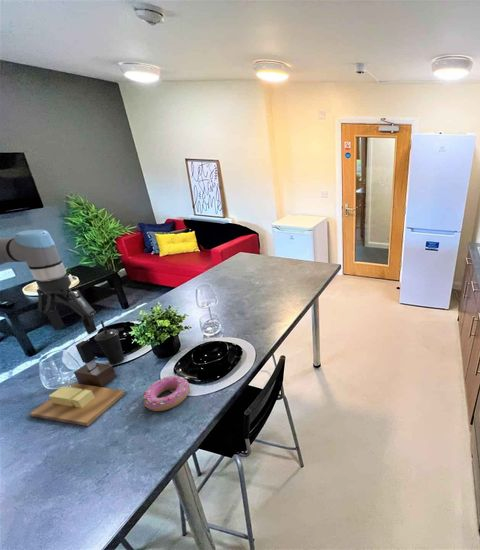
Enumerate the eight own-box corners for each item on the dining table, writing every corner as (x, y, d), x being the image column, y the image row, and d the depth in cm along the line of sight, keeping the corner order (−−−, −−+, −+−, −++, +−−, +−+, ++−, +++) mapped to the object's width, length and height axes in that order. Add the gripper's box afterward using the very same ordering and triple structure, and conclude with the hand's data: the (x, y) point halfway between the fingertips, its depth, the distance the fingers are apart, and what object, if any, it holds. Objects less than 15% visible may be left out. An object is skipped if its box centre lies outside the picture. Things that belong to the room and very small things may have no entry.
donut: (170, 379, 116) (167, 370, 114) (199, 388, 112) (196, 378, 110) (135, 407, 103) (130, 397, 101) (166, 418, 100) (163, 408, 98)
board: (31, 416, 98) (29, 413, 98) (74, 385, 111) (72, 382, 111) (87, 426, 96) (86, 422, 95) (125, 393, 109) (124, 390, 108)
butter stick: (52, 403, 102) (48, 395, 100) (66, 393, 106) (62, 385, 104) (72, 406, 101) (68, 399, 99) (85, 396, 105) (82, 389, 104)
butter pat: (75, 407, 101) (71, 399, 99) (88, 396, 105) (85, 389, 103) (81, 408, 101) (78, 400, 99) (94, 397, 105) (91, 390, 103)
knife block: (79, 384, 112) (73, 372, 109) (94, 373, 117) (89, 361, 115) (102, 387, 111) (96, 375, 108) (116, 376, 116) (111, 364, 114)
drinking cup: (128, 352, 129) (114, 314, 121) (127, 362, 124) (113, 323, 115) (106, 358, 125) (90, 319, 117) (104, 369, 120) (87, 329, 111)
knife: (92, 382, 113) (74, 345, 105) (99, 377, 116) (83, 340, 108) (97, 383, 113) (80, 346, 105) (104, 377, 115) (88, 341, 108)
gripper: (96, 275, 97) (116, 327, 106) (32, 269, 100) (57, 320, 109) (72, 285, 91) (96, 340, 99) (5, 278, 93) (34, 332, 102)
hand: (76, 330), depth 104 cm, fingers open, 13 cm apart
